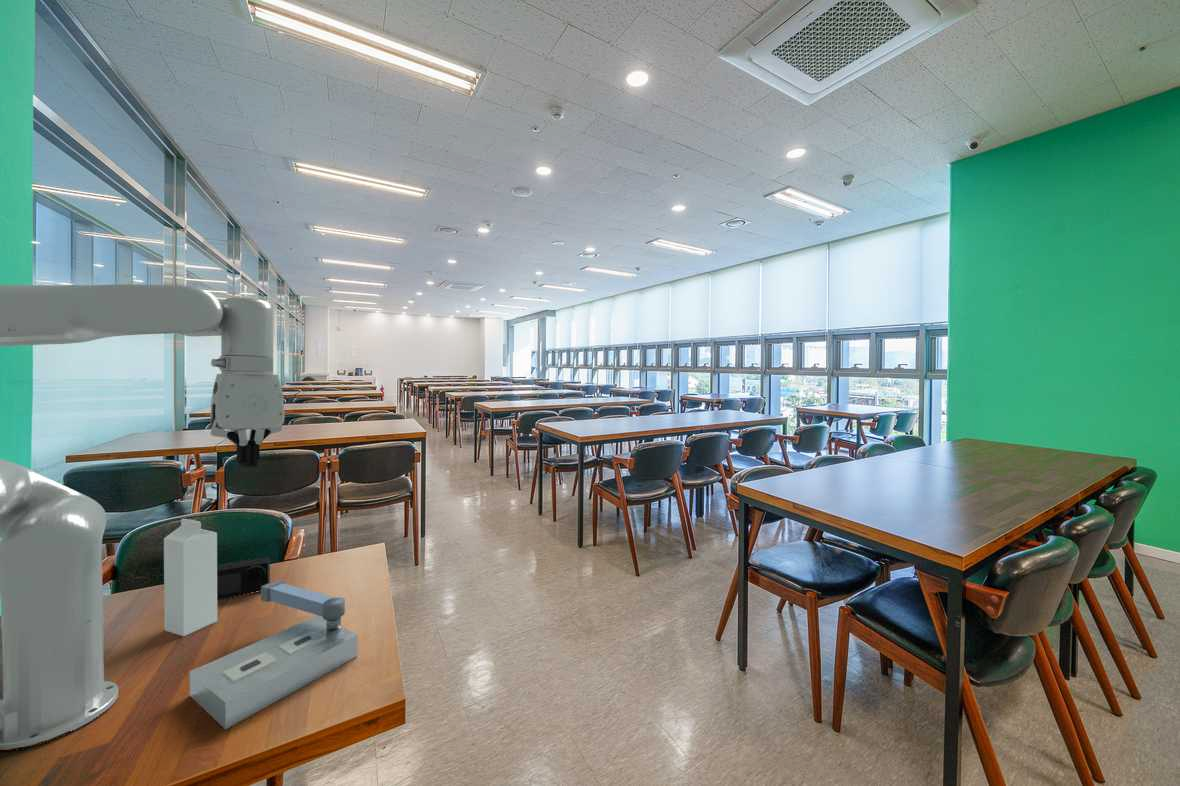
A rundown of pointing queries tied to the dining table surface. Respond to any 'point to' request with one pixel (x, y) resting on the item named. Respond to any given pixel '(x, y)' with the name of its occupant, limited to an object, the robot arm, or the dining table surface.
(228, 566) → the digital camera
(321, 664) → the plate
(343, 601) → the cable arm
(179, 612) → the milk
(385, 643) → the dining table surface
